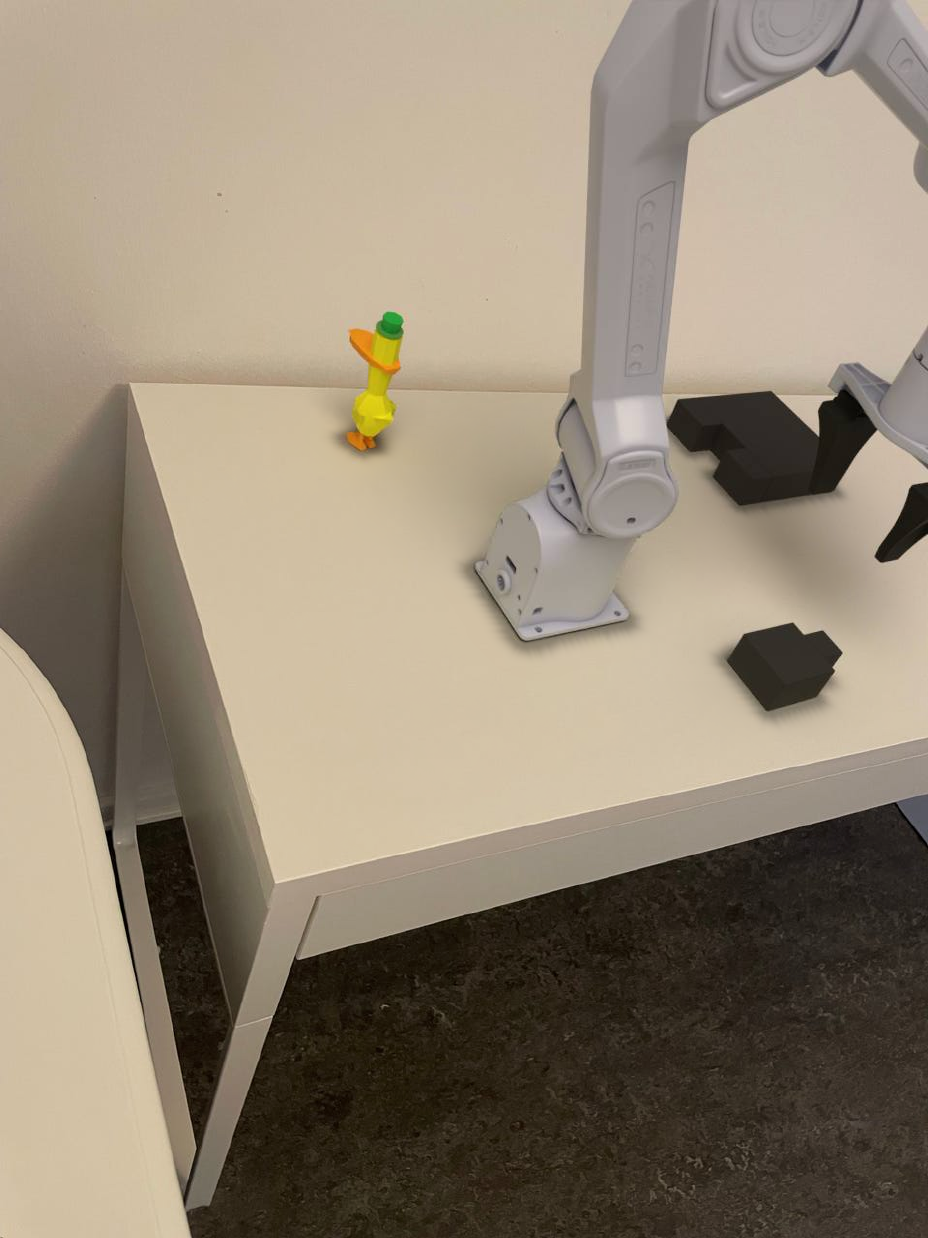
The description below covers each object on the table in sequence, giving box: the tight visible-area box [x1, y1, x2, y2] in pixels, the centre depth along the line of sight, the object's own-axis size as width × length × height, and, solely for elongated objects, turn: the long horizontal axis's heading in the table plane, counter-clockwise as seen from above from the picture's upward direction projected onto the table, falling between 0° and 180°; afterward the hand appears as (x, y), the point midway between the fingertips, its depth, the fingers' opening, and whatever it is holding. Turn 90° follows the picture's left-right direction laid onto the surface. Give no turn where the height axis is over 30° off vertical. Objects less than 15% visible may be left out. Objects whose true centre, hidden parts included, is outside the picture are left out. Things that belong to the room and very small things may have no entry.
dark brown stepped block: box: [726, 622, 844, 712], centre depth 76 cm, size 7×5×3 cm
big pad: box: [666, 390, 840, 506], centre depth 97 cm, size 12×12×3 cm
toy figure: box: [346, 311, 405, 452], centre depth 81 cm, size 7×4×12 cm, turn 40°
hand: (851, 523), depth 77 cm, fingers open, 7 cm apart
